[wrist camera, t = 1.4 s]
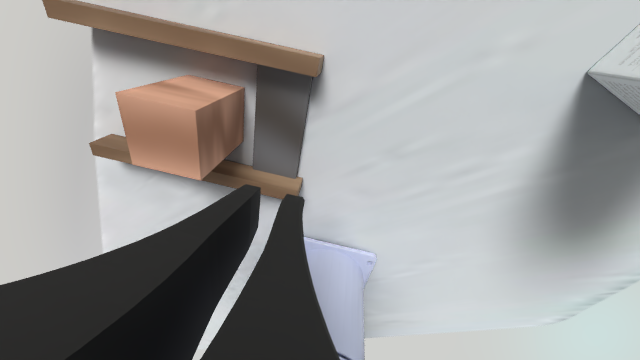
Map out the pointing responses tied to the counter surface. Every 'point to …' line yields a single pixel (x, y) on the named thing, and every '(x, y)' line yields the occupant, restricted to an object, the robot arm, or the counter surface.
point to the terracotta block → (182, 124)
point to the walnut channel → (271, 96)
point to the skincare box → (622, 70)
